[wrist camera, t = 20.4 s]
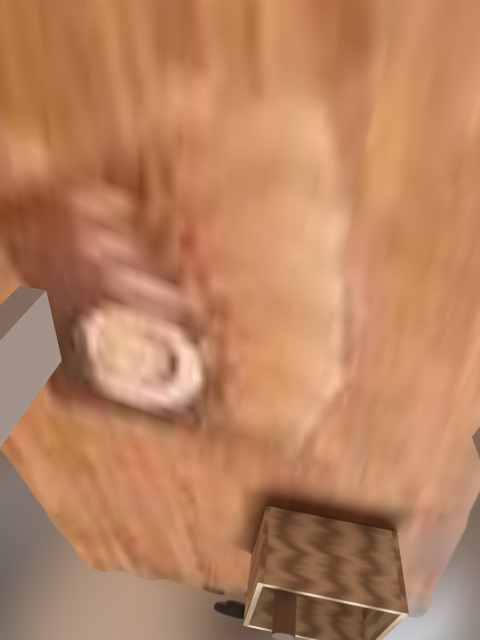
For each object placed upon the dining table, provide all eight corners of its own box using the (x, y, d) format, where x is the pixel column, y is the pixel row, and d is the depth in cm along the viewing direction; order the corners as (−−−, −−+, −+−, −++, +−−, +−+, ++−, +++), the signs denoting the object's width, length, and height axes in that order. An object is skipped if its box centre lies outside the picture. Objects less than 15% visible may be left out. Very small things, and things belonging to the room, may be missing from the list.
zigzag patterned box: (251, 554, 98) (243, 625, 87) (265, 505, 83) (258, 582, 72) (362, 577, 96) (368, 652, 85) (396, 531, 82) (408, 614, 71)
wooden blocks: (257, 549, 96) (245, 657, 80) (278, 507, 83) (268, 625, 68) (330, 566, 96) (332, 678, 80) (361, 527, 83) (370, 650, 68)
